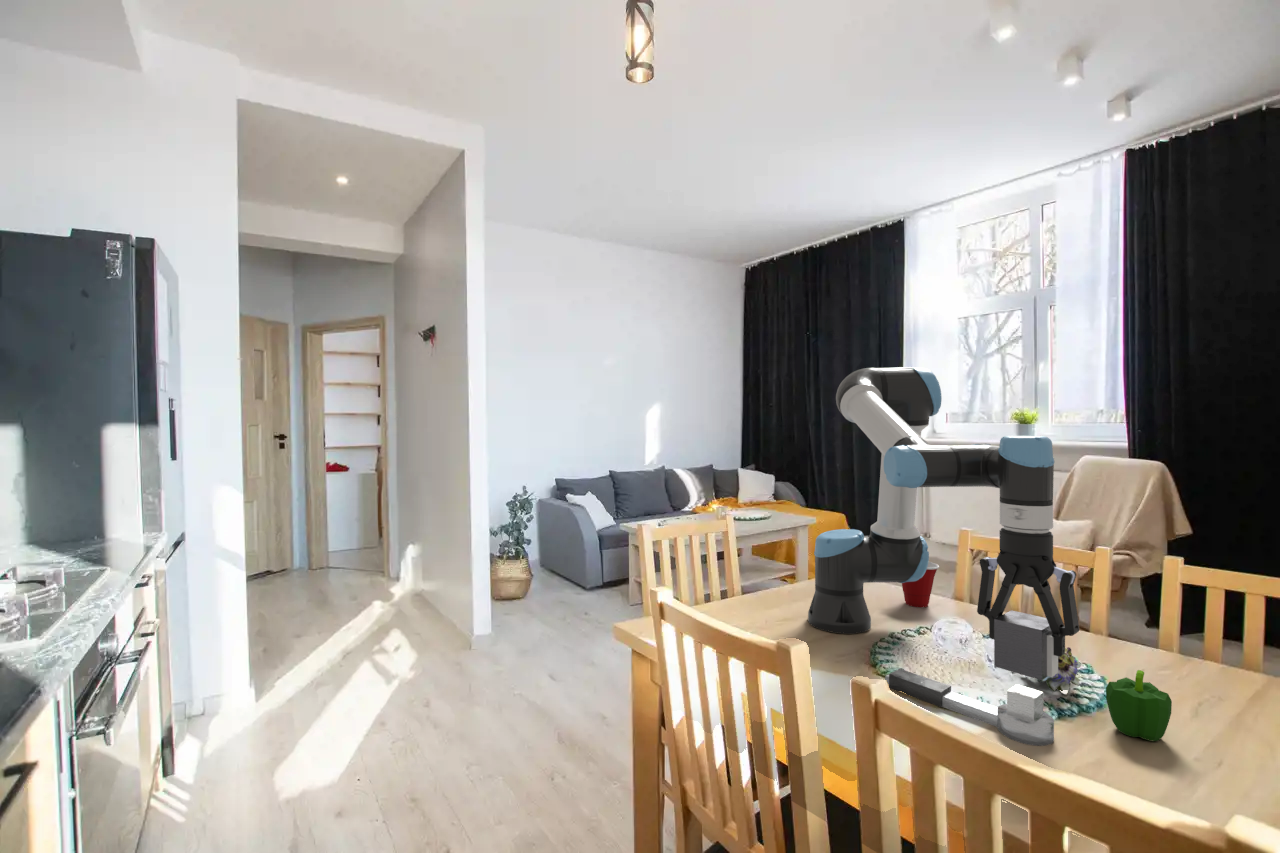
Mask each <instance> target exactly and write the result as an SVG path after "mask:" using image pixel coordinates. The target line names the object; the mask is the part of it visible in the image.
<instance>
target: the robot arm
mask: <svg viewBox="0 0 1280 853" xmlns="http://www.w3.org/2000/svg"><path fill="white" fill-rule="evenodd" d="M835 401H836V402H835V403H836V406H837V409H838V411H839V412H840V414H841V415H842V416H843V417H844V419H845V420H847V421H848V422H851V423H853V424H856V425H857V426H858V428H859V429H860V430H861V431H862V432H863V433H864V434H865V436H866V437H867V438H868V439H869V440H870V442H872V444H873V445H874V446H875V447H876V448H877V449H878V451H879V452H880V453H881V457H880V472H879V474H880V475H879V476H880V477H879V487H878V488H879V490H878V505H877V521H876V522H874V523H873V524H871V525H870V528H869V529H870V532H869V535H864V533H863V531H862V530H859V529H855V528H849V529H846V528H841V529H832V530H827V531H825V532H822V533H820V534H819V535H817V537H816V538H815V545H814V554H813V555H814V594H813V598H812V600H811V603H810V606H809V609H808V611H807V620H808V621H807V622H808V624H809V625H810V626H812V627H814V628H816V629H818V630H820V631H821V630H822V631H824V632H830V633H836V634H844V635H845V634H847V635H852V634H861V633H864V632H866V631H869V630H870V629H871V627H872V618H871V614H870V612H869V608H868V606H867V602H866V599H865V596H864V584H867V583H870V584H871V583H874V584H875V583H899V584H902V583H905V582H913V581H917V580H919V579H920V578H922V577H923V575H924V574H925V572H926V570H927V567H928V562H930V561H929V560H930V552H929V551H928V549H929V546H928V543H927V541H926V539H925V538H924V537H923V536H921V531H920V530H919V529H918V528H917V527H916V526H915V520H916V509H917V508H916V505H917V504H916V503H917V496H918V495H917V493H918V492H917V491H918V488H944V487H946V488H949V487H950V488H951V487H952V488H953V487H954V488H955V487H956V488H957V487H961V488H962V487H963V488H964V487H966V488H967V487H973V488H974V487H986V488H987V487H989V488H997V489H999V525H1001V526H1002V528H1000V529H999V553H998V556H997V557H991V556H986V557H984V558H980V560H979V565H980V568H981V569H980V570H981V576H980V578H981V579H980V584H979V593H978V601H977V608H976V612H977V614H978V615H980V616H983V617H985V618H987V619H988V624H989V625H988V627H989V628H988V629H989V631H988V635H989V638H990V640H994V619H995V618H997V617H999V616H1001V615H1003V614H1004V611H1005V609H1006V607H1007V605H1008V602H1010V599H1011V597H1012V594H1013V592H1014V589H1015V588H1016V586H1017V585H1018V586H1019V585H1023V586H1026V587H1029V588H1032V589H1033V591H1034V593H1035V595H1037V597H1038V600H1039V603H1040V606H1041V608H1042V610H1043V614H1044V616H1045V618H1047V621H1048V624H1049V626H1050V629H1051V631H1052V632H1051V633H1050V634H1048V635H1047V676H1050V677H1053V676H1054V675H1056V674H1057V673H1058V656H1059V657H1061V656H1062V655H1064V653H1065V649H1066V637H1067V636H1070V637H1072V636H1074V635H1076V634H1077V633H1079V632H1080V623H1079V617H1078V609H1077V603H1076V602H1077V601H1076V595H1075V586H1074V585H1075V581H1076V578H1077V573H1076V571H1075V570H1066V569H1064V568H1060V567H1057V564H1056V562H1055V561H1054V533H1052V532H1051V530H1052V529H1054V501H1053V500H1054V474H1055V473H1054V471H1055V466H1054V465H1055V458H1054V452H1053V451H1054V450H1053V441H1052V440H1051V438H1050V437H1048V436H1043V435H1042V436H1041V435H1004V436H1002V437H1001V438H1000V440H999V444H998V445H994V444H993V445H992V444H990V443H975V444H974V443H973V444H966V445H965V444H964V445H961V444H960V445H958V444H955V445H947V444H946V445H931V444H930V443H928V442H927V441H926V440H925V439H924V438H923V437H922V432H923V430H924V429H926V428H927V427H928V426H929V425H930V417H934V416H935V415H937V414H938V413H939V412H940V409H941V407H942V390H941V385H940V382H939V380H938V379H937V376H936V375H935V374H934V372H933V371H932V370H930V369H928V368H925V367H916V366H915V367H913V366H903V367H902V366H899V367H898V366H897V367H866V368H865V367H864V368H861V369H857V370H855V371H852V372H851V373H850V374H848V375H847V376H846V377H845V378H844V379H843V380H842V381H841V382H840V384H839V386H838V387H837V390H836V394H835ZM998 566H999V568H1000V569H1001V570H1002V572H1003V573H1004V574H1005V575H1004V577H1003V580H1002V582H1001V587H1000V589H999V590H998V592H997V595H996V598H995V599H994V602H993V605H992V600H993V592H994V584H995V577H996V570H998ZM1053 575H1054V576H1055V578H1056V581H1057V582H1058V583H1059V594H1060V600H1061V610H1062V616H1061V613H1060V612H1059V608H1058V606H1057V604H1056V601H1055V599H1054V596H1053V594H1052V590H1051V585H1050V583H1049V579H1050V578H1051V577H1052V576H1053ZM1062 617H1063V619H1062Z"/></svg>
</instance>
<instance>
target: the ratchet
mask: <svg viewBox="0 0 1280 853" xmlns="http://www.w3.org/2000/svg"><path fill="white" fill-rule="evenodd" d="M884 677H885V678H884V679H885V680H887V682H888V684H889V687H890V688H889V687H888V688H889V689H890V690H893V691H895V690H896V692H898V691H902V692H904V693H906V694H907V695H906V694H905V695H906V696H909V695H910V696H909V697H911V696H912V698H915V699H916V700H917V699H918V700H920V701H922V702H925V703H928V704H930V705H934V706H936V707H938V708H944V709H947V710H950V711H952V712H955V713H958V714H961V715H964V716H966V717H968V718H971V719H974V720H977V721H980V722H982V723H985V724H988V725H991V726H993V727H996V728H997V730H998V731H999V733H1000V734H1002V735H1003V736H1005V738H1008V739H1010V740H1012V741H1015V742H1017V743H1020V744H1023V745H1029V746H1037V747H1043V746H1049V745H1052V744H1053V743H1054V741H1055V719H1054V718H1053V716H1051V715H1050V714H1049V713H1047V712H1045V711H1044V691H1041V690H1037V689H1035V688H1031V687H1027V686H1025V685H1021V684H1019V683H1016V684H1015V685H1014V686H1012V687H1010V688H1009V689H1008V690H1007V691H1006V703H1003V704H1001V705H999V706H995V705H992V704H989V703H986V702H983V701H981V700H978V699H975V698H972V697H970V696H966V695H963V694H960V693H958V692H955V691H952V685H950V684H947V683H944V682H941V681H937V680H935V679H932V678H929V677H926V676H923V675H919V674H918V673H914V672H911V671H909V670H905V669H902V668H898V669H896V670H894V671H892V672H890V673H888V674H886V675H885V676H884ZM885 680H884V681H885Z"/></svg>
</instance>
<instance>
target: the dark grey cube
mask: <svg viewBox="0 0 1280 853" xmlns="http://www.w3.org/2000/svg"><path fill="white" fill-rule="evenodd" d="M1051 632H1052V631H1051V629H1050V626H1049V624H1048V621H1047V618H1046V617H1042V616H1039V615H1034V614H1030V613H1025V612H1020V611H1017V610H1009V611H1007V612H1005V613H1003V614H1002V615H1001V616H999V617H997V618H995V619H994V639H993V640H994V642H993V643H994V648H993V650H994V651H993V653H994V654H993V655H994V658H993V659H994V660H993V662H994V663H993V664H994V667H995V668H998V669H1001V670H1006V671H1009V672H1012V673H1015V674H1017V675H1023V676H1024V677H1026V676H1027V678H1028V677H1029V678H1032V679H1035V680H1037V679H1039V680H1043V679H1045V678H1046V677H1047V635H1048V634H1050V633H1051Z"/></svg>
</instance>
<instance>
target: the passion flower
mask: <svg viewBox="0 0 1280 853" xmlns="http://www.w3.org/2000/svg"><path fill="white" fill-rule="evenodd" d="M1081 666H1082V663H1081V662H1080V661H1077V660H1076V657H1074V656H1073V654H1072V648H1071V647H1069V646H1068V647H1066V648H1065V653H1064V655H1062V656H1061V657H1059V656H1058V673H1057V674H1056V675H1054V676H1053V677H1050V676H1047V677H1046V678H1045V679H1043V680H1039V679H1036V680H1037V681H1038V682H1045V683H1046V685H1047V687H1048V689H1050V690H1051V692H1054V693H1055V691H1056V690H1057V689H1058V691H1059V690H1061V691H1063V690H1069V691H1070V689H1069V688H1070V686H1069V685H1070V684H1073V685H1074V686H1077V687H1079V686H1080V685H1081V684H1080V680H1079V679H1078V678H1079V677H1077V675H1078V676H1079V674H1078V673H1080V670H1078V669H1079V668H1081Z"/></svg>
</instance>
